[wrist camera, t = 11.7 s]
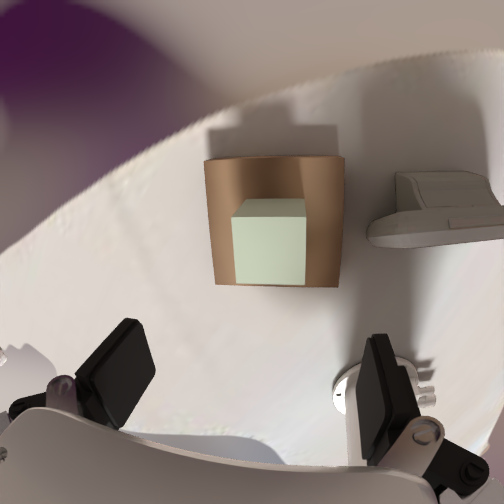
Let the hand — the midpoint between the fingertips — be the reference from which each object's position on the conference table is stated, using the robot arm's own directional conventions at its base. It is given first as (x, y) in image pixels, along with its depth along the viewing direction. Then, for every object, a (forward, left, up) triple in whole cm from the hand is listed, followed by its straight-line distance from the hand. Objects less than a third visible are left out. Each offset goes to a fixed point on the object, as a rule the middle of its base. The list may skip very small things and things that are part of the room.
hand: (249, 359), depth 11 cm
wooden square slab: (0, -1, -19) cm, 19 cm away
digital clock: (-16, -2, -19) cm, 25 cm away
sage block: (0, -1, -16) cm, 16 cm away
